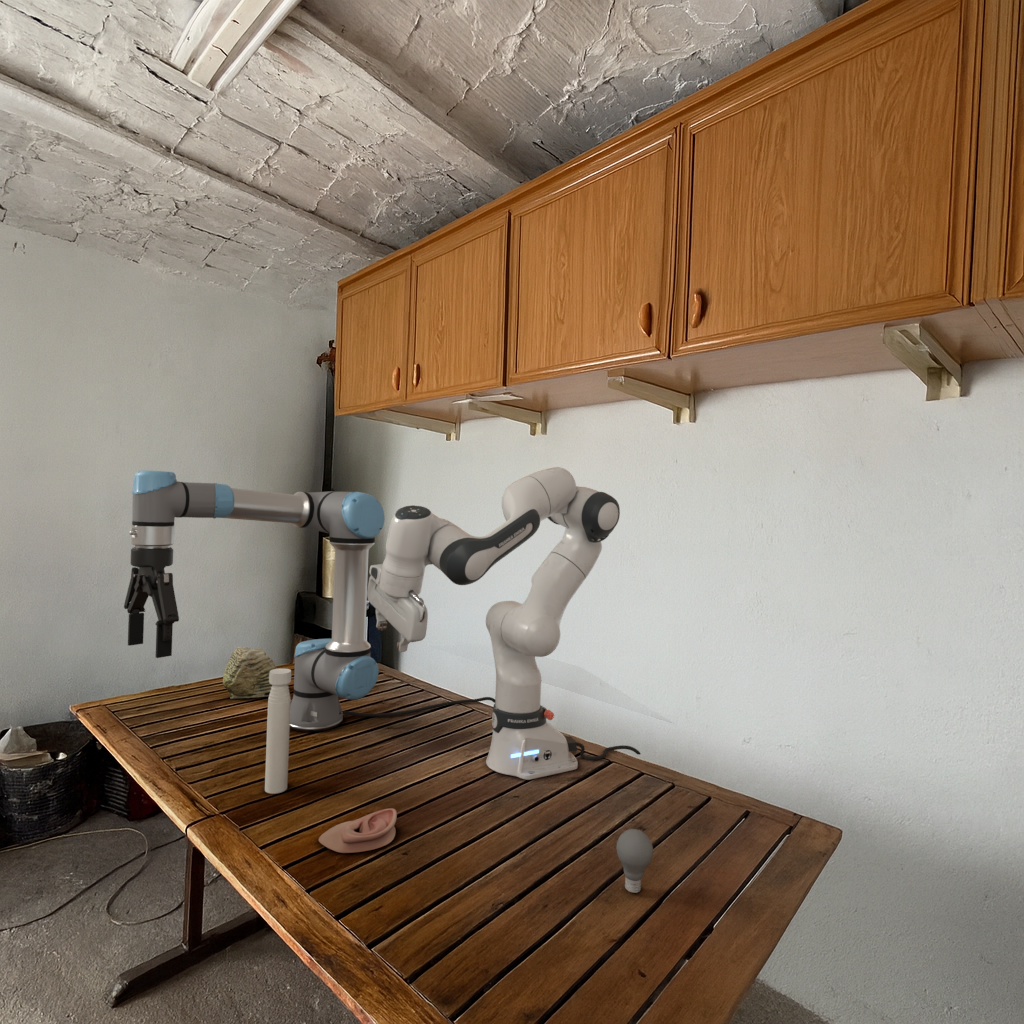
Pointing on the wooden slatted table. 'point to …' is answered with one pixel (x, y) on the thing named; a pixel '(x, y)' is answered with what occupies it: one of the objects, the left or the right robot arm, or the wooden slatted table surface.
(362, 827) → the anatomical model
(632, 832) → the light bulb
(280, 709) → the bottle
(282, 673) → the cap
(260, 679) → the fossil
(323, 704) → the left robot arm
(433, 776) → the wooden slatted table surface
